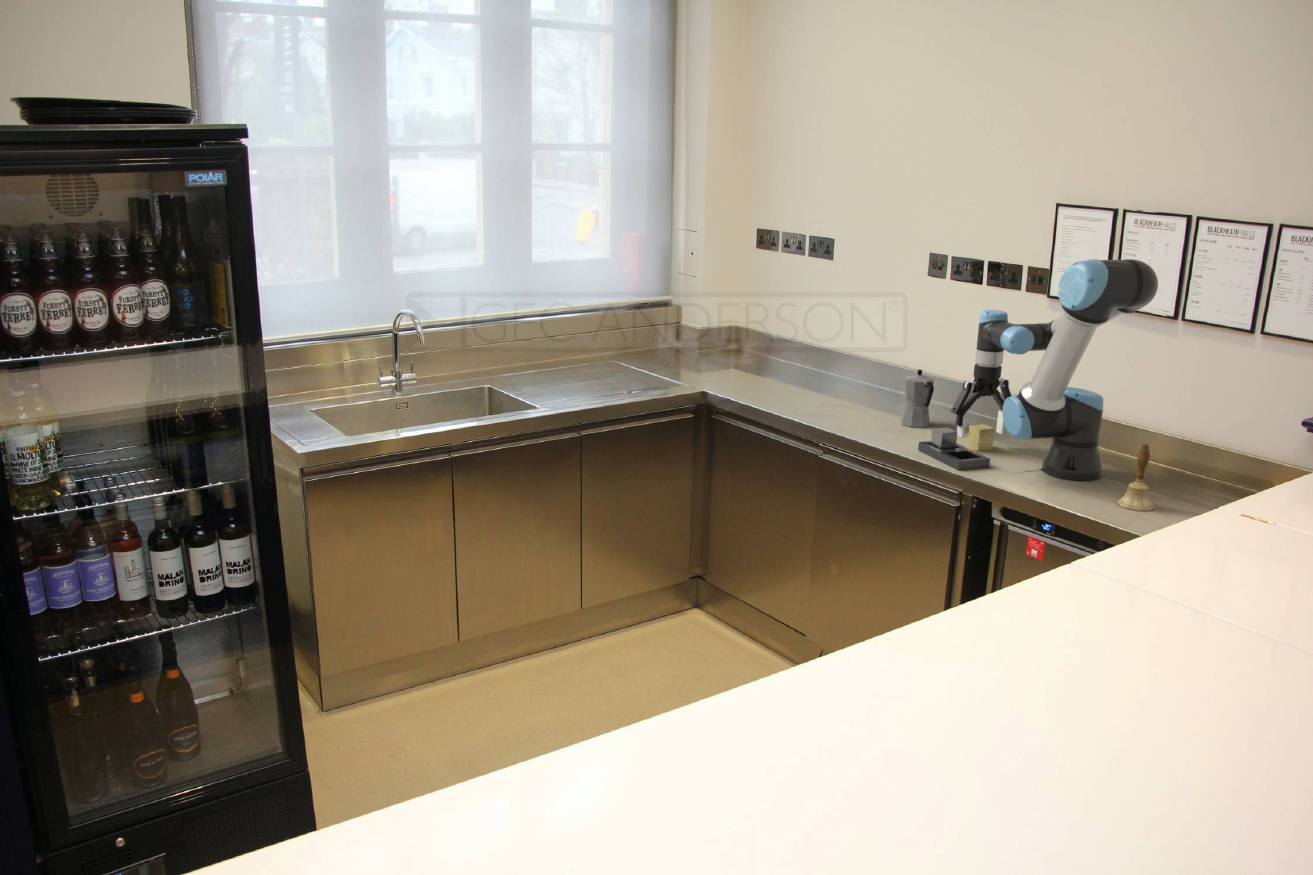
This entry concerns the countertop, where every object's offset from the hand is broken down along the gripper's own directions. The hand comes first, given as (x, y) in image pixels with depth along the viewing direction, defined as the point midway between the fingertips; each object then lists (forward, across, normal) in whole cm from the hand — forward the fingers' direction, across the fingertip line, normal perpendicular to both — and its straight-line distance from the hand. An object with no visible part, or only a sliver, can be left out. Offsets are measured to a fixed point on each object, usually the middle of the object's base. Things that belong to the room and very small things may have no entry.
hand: (980, 434), depth 298 cm
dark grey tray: (+4, +14, +8) cm, 17 cm away
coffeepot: (+5, +3, -28) cm, 29 cm away
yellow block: (+4, 0, +1) cm, 4 cm away
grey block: (+4, +14, +3) cm, 15 cm away
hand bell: (+4, -8, +54) cm, 54 cm away
